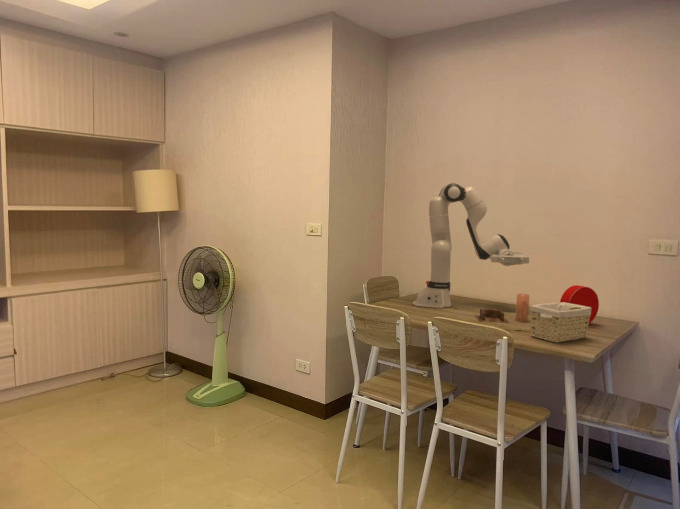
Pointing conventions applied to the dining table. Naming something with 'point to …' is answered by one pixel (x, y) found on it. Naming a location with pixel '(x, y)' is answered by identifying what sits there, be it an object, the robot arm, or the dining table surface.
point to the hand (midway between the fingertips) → (512, 260)
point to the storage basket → (559, 321)
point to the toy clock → (582, 298)
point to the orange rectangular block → (522, 307)
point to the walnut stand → (491, 316)
